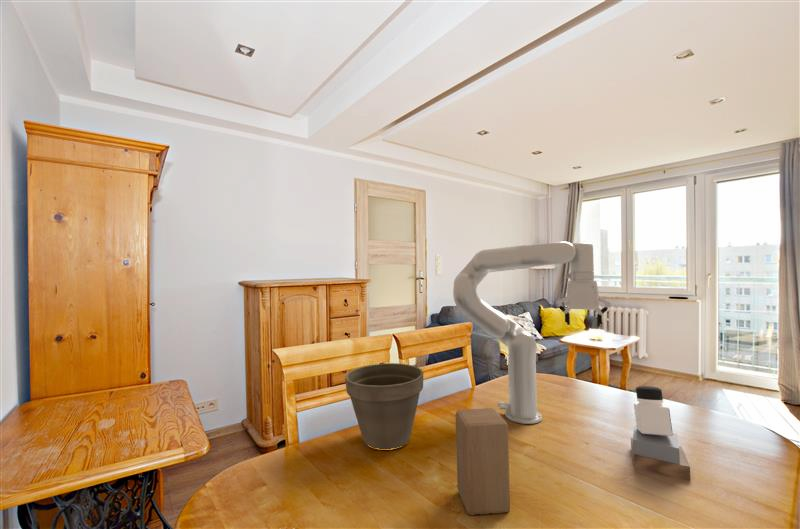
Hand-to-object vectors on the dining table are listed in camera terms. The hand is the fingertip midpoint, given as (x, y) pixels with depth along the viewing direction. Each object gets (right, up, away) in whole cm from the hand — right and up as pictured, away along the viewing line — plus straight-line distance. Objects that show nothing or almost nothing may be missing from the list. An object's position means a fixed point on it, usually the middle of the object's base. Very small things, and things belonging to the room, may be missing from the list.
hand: (583, 325), depth 131 cm
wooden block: (-46, -34, -45) cm, 73 cm away
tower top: (+4, -29, -31) cm, 43 cm away
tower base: (+5, -33, -31) cm, 46 cm away
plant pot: (-70, -35, -13) cm, 79 cm away
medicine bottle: (+4, -25, -30) cm, 39 cm away
